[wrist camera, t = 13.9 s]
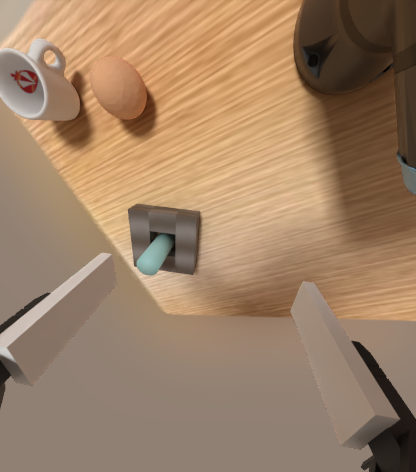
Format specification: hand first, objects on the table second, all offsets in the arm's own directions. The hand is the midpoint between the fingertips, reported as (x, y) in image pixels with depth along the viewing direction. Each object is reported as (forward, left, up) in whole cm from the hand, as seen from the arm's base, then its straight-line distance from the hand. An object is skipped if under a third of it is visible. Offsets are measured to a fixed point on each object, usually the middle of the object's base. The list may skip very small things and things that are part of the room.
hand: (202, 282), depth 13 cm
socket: (+11, -11, -27) cm, 31 cm away
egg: (-15, -17, -27) cm, 35 cm away
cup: (-15, -29, -27) cm, 42 cm away
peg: (+11, -11, -27) cm, 31 cm away
